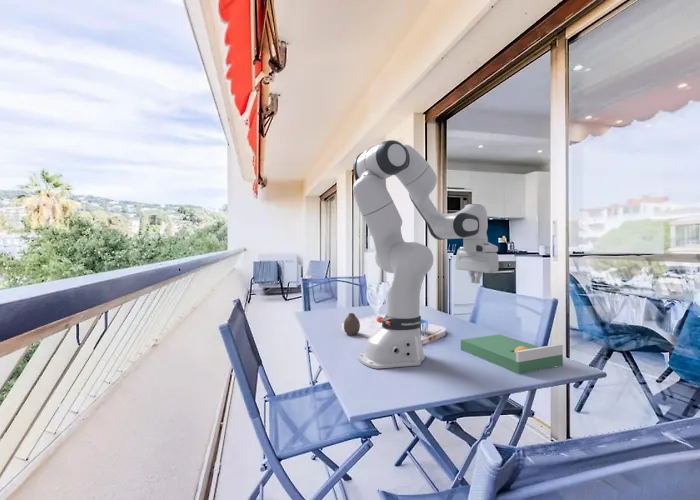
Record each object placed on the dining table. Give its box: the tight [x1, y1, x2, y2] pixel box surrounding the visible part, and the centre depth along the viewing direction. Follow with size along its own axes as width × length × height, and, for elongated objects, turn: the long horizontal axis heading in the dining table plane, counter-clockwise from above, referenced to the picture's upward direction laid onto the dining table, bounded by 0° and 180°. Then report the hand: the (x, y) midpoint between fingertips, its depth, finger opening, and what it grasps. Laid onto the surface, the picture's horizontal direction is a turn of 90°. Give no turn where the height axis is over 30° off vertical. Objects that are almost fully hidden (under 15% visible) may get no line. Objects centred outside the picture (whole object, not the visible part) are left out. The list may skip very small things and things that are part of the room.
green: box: [460, 334, 564, 375], centre depth 120 cm, size 18×26×6 cm
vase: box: [343, 312, 361, 336], centre depth 152 cm, size 7×7×9 cm
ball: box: [514, 346, 528, 353], centre depth 113 cm, size 5×5×5 cm
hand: (475, 283), depth 137 cm, fingers closed
